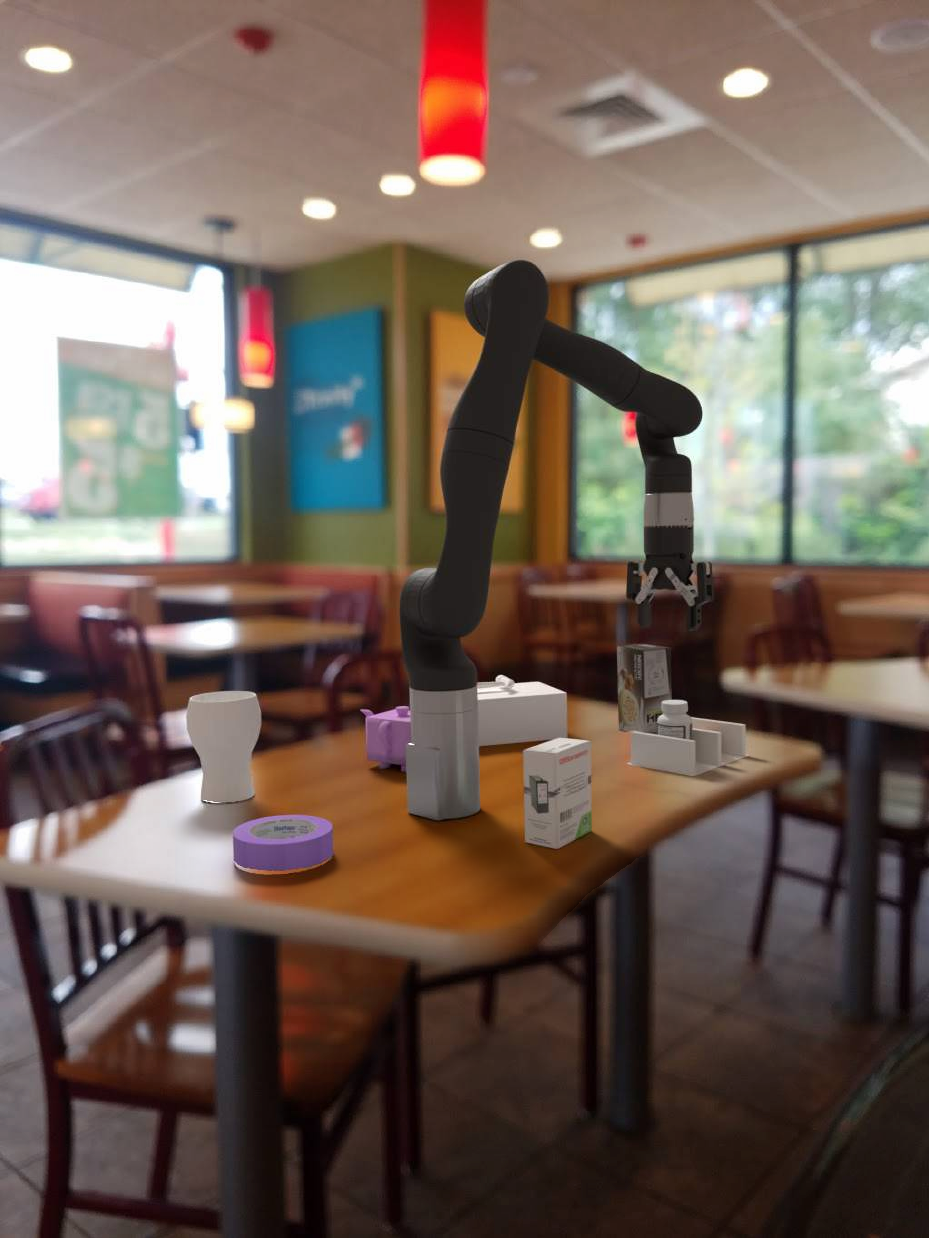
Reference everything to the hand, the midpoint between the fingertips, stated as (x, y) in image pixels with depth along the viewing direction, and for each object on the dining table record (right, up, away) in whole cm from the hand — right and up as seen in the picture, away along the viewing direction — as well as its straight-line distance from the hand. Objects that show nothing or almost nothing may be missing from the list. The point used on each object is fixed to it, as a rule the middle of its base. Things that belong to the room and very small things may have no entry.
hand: (668, 629), depth 149 cm
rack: (+4, -22, +4) cm, 23 cm away
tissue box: (-27, -21, +31) cm, 46 cm away
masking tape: (-53, -27, -34) cm, 69 cm away
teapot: (-41, -23, +10) cm, 48 cm away
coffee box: (+2, -20, +31) cm, 36 cm away
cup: (-67, -25, -7) cm, 71 cm away
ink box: (-20, -26, -29) cm, 44 cm away
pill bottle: (+1, -21, +2) cm, 21 cm away
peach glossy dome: (+7, -21, +7) cm, 23 cm away
